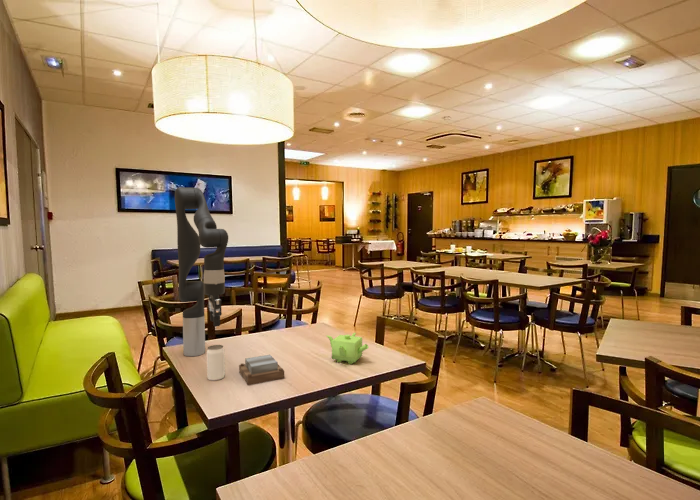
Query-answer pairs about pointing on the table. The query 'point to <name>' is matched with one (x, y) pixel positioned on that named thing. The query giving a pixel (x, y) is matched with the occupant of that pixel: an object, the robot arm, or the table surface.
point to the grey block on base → (260, 370)
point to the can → (215, 362)
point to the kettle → (347, 348)
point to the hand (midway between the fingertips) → (215, 323)
